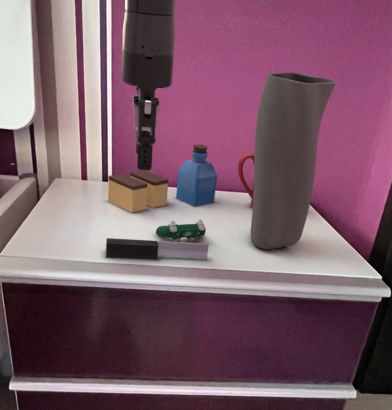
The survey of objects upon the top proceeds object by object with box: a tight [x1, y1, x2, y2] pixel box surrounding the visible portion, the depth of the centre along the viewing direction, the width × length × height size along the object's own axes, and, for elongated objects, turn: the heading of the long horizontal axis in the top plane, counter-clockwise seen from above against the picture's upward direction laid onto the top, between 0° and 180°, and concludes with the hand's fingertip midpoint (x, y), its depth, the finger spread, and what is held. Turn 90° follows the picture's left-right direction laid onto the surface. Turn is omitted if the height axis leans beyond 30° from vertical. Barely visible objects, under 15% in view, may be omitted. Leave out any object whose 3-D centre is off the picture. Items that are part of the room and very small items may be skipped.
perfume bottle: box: [175, 143, 218, 207], centre depth 125 cm, size 6×6×12 cm
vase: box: [250, 71, 337, 250], centre depth 103 cm, size 12×12×30 cm
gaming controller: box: [155, 219, 207, 242], centre depth 107 cm, size 9×4×6 cm
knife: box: [105, 237, 210, 261], centre depth 100 cm, size 18×2×3 cm, turn 96°
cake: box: [107, 170, 169, 214], centre depth 121 cm, size 10×8×6 cm
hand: (143, 161), depth 91 cm, fingers open, 8 cm apart
